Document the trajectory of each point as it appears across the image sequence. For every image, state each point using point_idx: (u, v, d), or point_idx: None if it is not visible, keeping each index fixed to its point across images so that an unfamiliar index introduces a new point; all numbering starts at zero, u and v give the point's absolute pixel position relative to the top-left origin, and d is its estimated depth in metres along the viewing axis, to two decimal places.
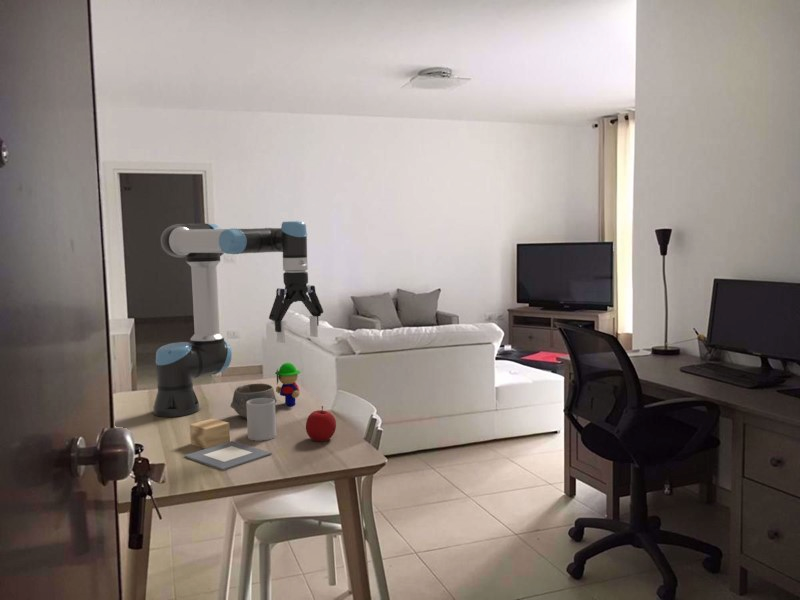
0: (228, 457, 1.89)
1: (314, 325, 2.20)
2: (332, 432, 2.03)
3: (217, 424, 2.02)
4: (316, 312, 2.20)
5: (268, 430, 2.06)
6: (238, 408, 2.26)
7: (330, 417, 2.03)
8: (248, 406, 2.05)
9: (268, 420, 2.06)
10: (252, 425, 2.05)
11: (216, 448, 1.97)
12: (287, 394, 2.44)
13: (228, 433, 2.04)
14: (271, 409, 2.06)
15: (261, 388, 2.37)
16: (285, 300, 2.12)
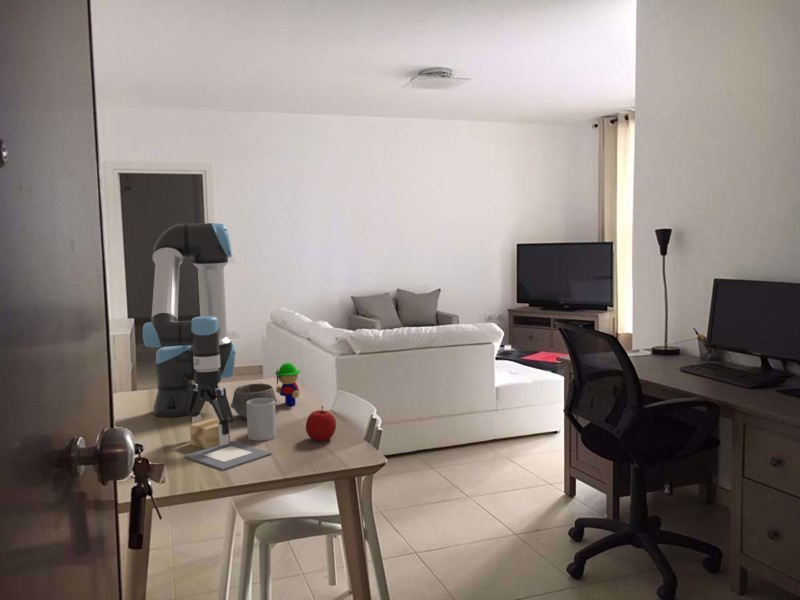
0: (228, 457, 1.89)
1: None
2: (332, 432, 2.03)
3: (217, 424, 2.02)
4: (220, 419, 1.98)
5: (268, 430, 2.06)
6: (238, 408, 2.26)
7: (330, 417, 2.03)
8: (248, 406, 2.05)
9: (268, 420, 2.06)
10: (252, 425, 2.05)
11: (216, 448, 1.97)
12: (287, 394, 2.44)
13: None
14: (271, 409, 2.06)
15: (261, 388, 2.37)
16: None
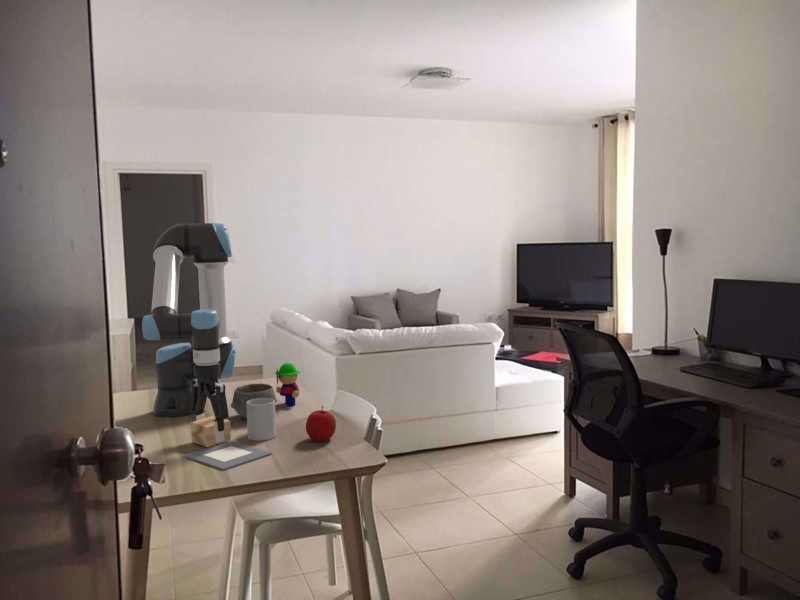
0: (228, 457, 1.89)
1: None
2: (332, 432, 2.03)
3: None
4: (215, 416, 1.99)
5: (268, 430, 2.06)
6: (238, 408, 2.26)
7: (330, 417, 2.03)
8: (248, 406, 2.05)
9: (268, 420, 2.06)
10: (252, 425, 2.05)
11: (216, 448, 1.97)
12: (287, 394, 2.44)
13: (229, 431, 2.04)
14: (271, 409, 2.06)
15: (261, 388, 2.37)
16: None
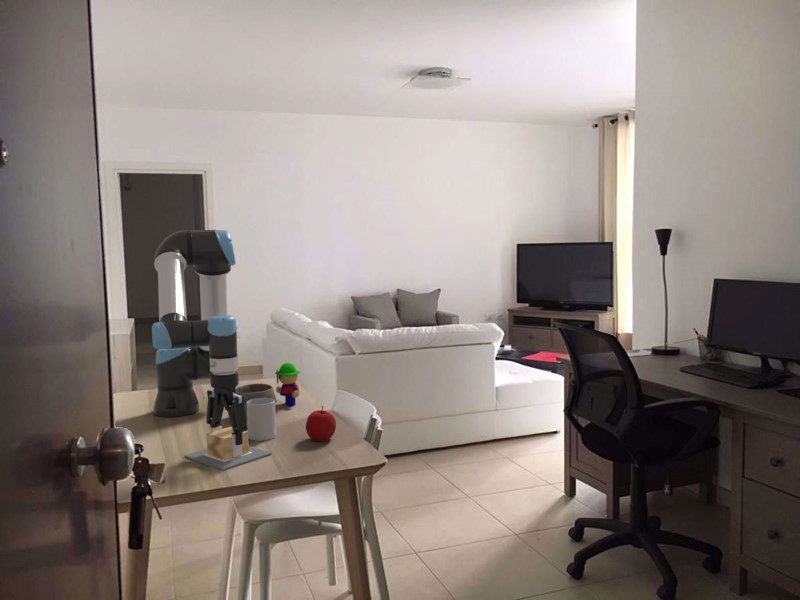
0: None
1: None
2: (332, 432, 2.03)
3: None
4: (233, 429, 1.87)
5: (268, 430, 2.06)
6: None
7: (330, 417, 2.03)
8: (248, 406, 2.05)
9: (268, 420, 2.06)
10: (252, 425, 2.05)
11: None
12: (287, 394, 2.44)
13: (247, 442, 1.92)
14: (271, 409, 2.06)
15: (261, 388, 2.37)
16: None
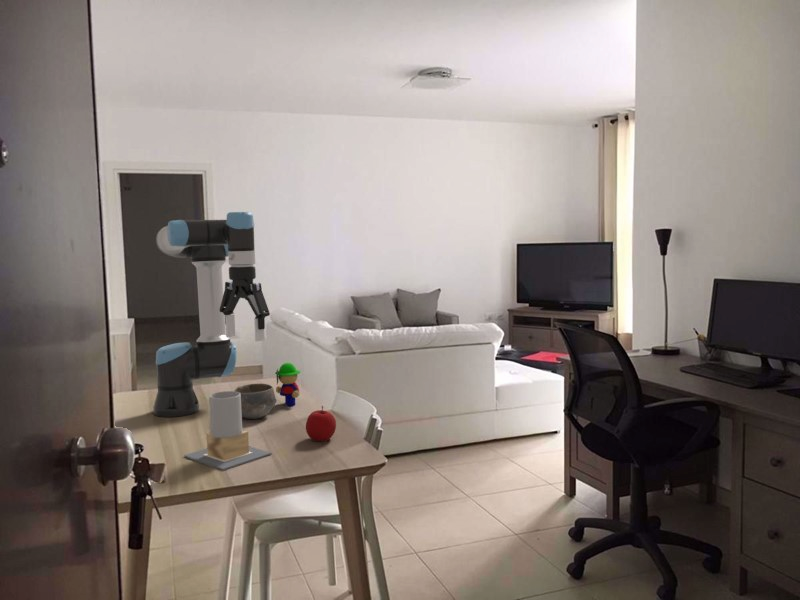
0: None
1: None
2: (332, 432, 2.03)
3: None
4: (256, 314, 1.96)
5: (232, 426, 1.87)
6: None
7: (330, 417, 2.03)
8: (210, 400, 1.86)
9: (232, 416, 1.86)
10: (214, 420, 1.86)
11: None
12: (287, 394, 2.44)
13: (247, 442, 1.92)
14: (236, 403, 1.87)
15: (261, 388, 2.37)
16: None
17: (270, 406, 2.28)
